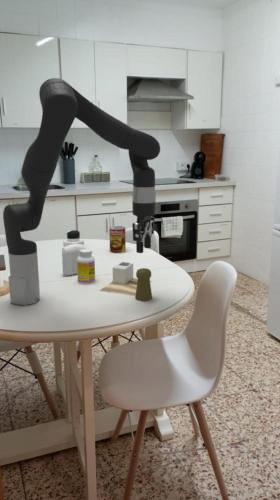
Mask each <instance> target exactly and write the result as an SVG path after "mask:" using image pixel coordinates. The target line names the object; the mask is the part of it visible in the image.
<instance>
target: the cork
mask: <svg viewBox="0 0 280 500" xmlns="http://www.w3.org/2000/svg"><path fill="white" fill-rule="evenodd" d="M135 276H136V279H138V281H137V288H136V296H134V299H135V300H136V301H137V302H138V301H139V302H148V301H151V300H153V294H152V287H151V286H152V285H151V283H150V281H151V278H152V271H151V269H149V268H145V267H144V268H143V267H142V268H139V269H137V270H136V273H135Z"/></svg>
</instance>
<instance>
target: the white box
mask: <svg viewBox="0 0 280 500" xmlns="http://www.w3.org/2000/svg"><path fill="white" fill-rule="evenodd" d="M131 279H134V263H132V262H126V261H125V262H124V261H123V262H122V261H121V262H119V263H118V264H116V265H115V266H114V265H113V267H112V281H113V283H119V284H126V283H127V282H129V281H130V280H131Z"/></svg>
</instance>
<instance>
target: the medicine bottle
mask: <svg viewBox="0 0 280 500" xmlns="http://www.w3.org/2000/svg"><path fill="white" fill-rule="evenodd" d="M80 235H81V234H80V231H79V230H77V229H73V230H72V229H71V230H68V231H67V232H66V240H64V241H62V245H63V248H64V247H66V246H68V245H72V244H81V245H85V241H84V240H83V239H81V237H80ZM63 248H62V249H63Z"/></svg>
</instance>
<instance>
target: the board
mask: <svg viewBox="0 0 280 500" xmlns="http://www.w3.org/2000/svg"><path fill="white" fill-rule="evenodd" d="M137 281H138V278H133V279H131V280H130V281H129V282H127V283H126V284H119V283H113V280H112V281H111V282H110V283H108V284H107V285H105V286H104V287H103V288H101V289H100V290H99V291H100V292H106V293H113V294H119V295H125V296H133V297H135V296H136V288H137ZM152 282H153V281H152V280H150V284H151V283H152Z"/></svg>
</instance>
